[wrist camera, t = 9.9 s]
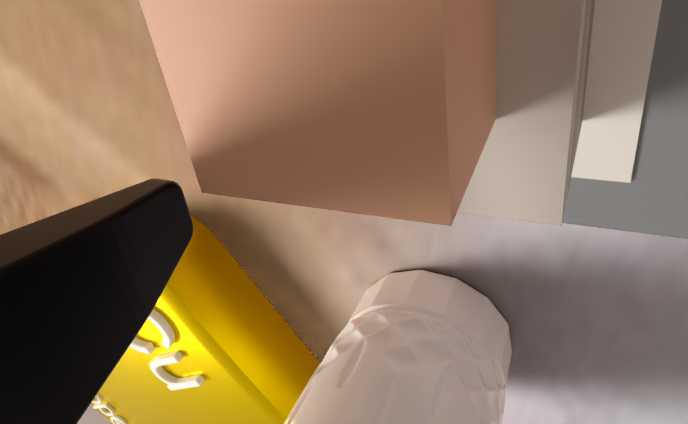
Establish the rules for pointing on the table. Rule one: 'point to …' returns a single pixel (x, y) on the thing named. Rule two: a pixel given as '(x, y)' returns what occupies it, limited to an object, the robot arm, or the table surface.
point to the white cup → (413, 358)
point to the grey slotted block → (534, 111)
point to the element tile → (208, 350)
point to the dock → (634, 121)
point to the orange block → (332, 99)
